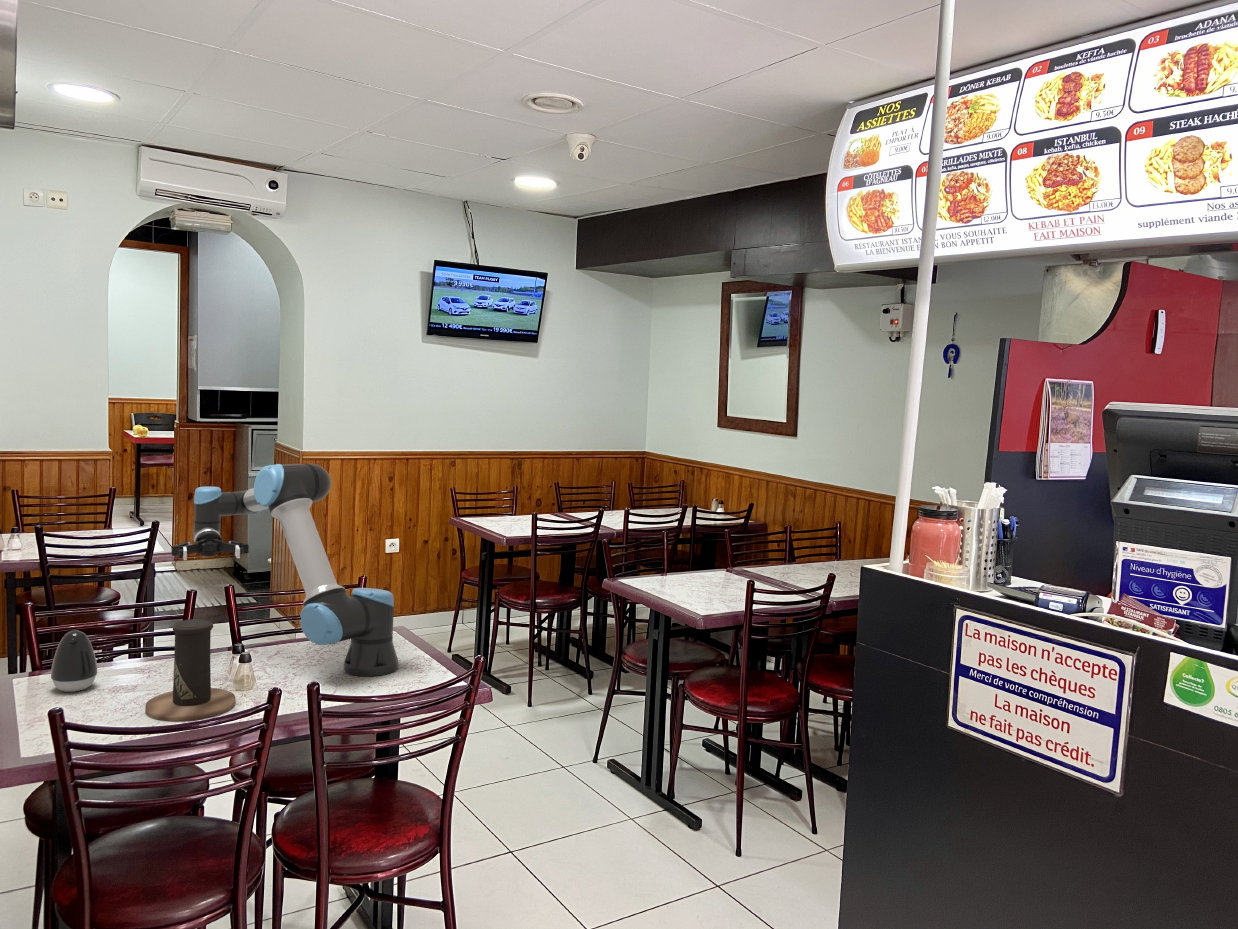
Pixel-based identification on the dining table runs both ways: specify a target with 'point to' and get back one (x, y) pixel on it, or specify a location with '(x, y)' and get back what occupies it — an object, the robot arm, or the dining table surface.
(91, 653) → the black egg shaped device
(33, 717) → the dining table surface
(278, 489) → the robot arm
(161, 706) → the round wooden board
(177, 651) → the container
